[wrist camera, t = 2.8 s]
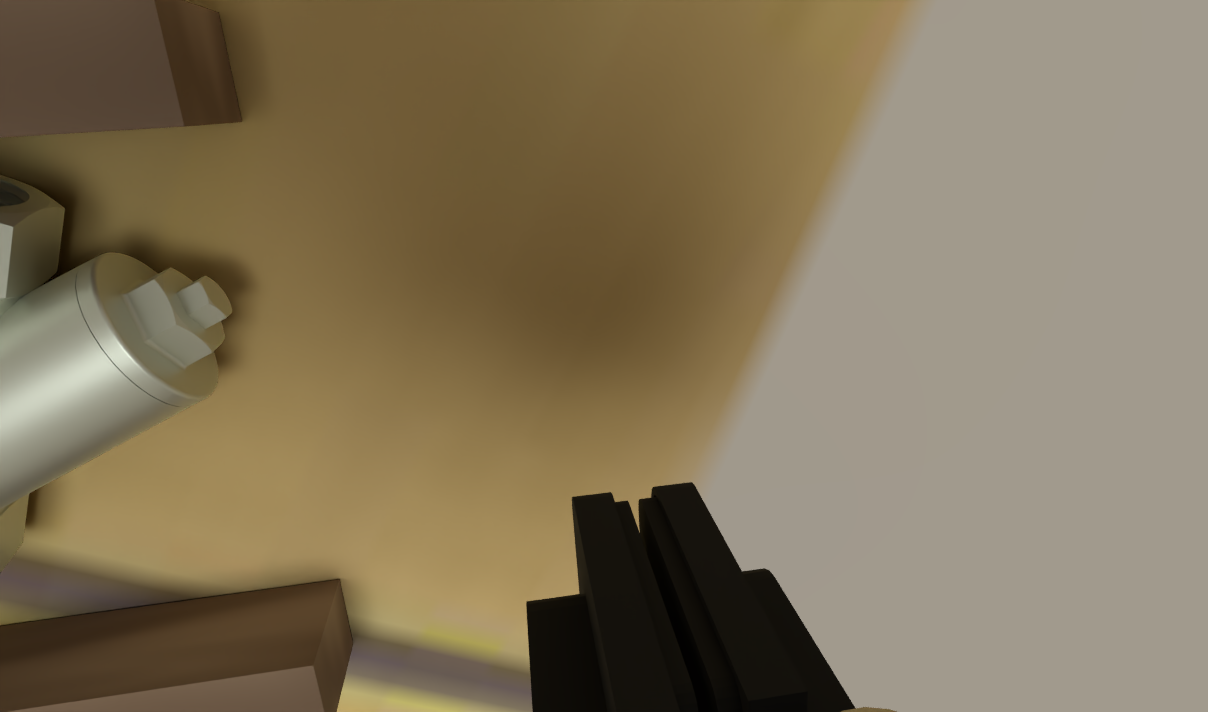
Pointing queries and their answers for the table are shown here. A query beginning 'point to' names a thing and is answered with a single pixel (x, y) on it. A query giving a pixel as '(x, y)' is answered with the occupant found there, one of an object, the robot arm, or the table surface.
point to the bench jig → (186, 628)
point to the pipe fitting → (87, 352)
